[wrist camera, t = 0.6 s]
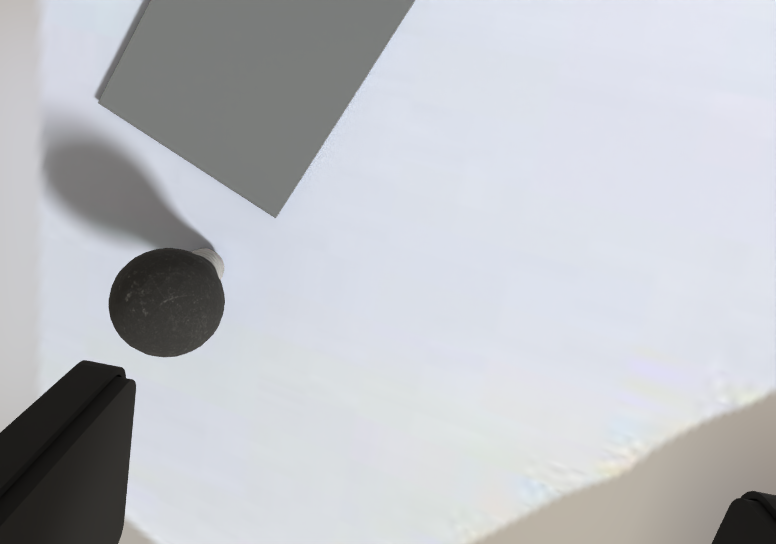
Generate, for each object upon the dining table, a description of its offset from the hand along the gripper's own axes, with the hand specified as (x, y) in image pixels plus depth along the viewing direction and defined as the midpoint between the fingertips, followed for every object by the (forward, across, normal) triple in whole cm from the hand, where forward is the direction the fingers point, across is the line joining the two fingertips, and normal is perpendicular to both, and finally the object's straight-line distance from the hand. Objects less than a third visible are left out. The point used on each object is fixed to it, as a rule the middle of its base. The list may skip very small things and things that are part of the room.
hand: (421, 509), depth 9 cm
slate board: (+28, +10, -7) cm, 31 cm away
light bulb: (+28, +11, +7) cm, 31 cm away
